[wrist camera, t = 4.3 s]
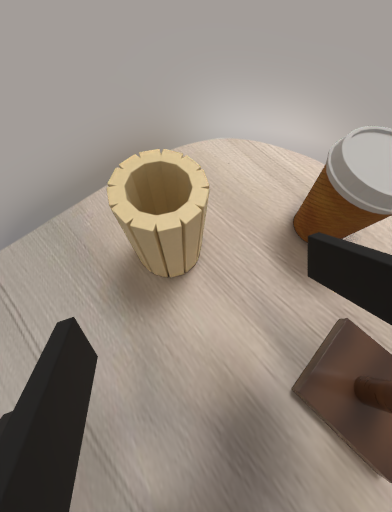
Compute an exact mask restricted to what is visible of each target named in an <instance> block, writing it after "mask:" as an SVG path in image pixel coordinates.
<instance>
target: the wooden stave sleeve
mask: <svg viewBox="0 0 392 512" xmlns="http://www.w3.org/2000/svg"><path fill="white" fill-rule="evenodd" d="M139 155H140V158H139V157H138V156H137V155H136V154H134V155H133V156H131V157H130V158H128V159H127V160H125V161H124V162H122V163H120V164H119V167H120V168H115V170H114V172H113V174H112V176H111V178H110V180H109V181H108V186H109V187H107V194H108V201H109V206H110V208H111V210H112V212H113V214H114V215H115V217H116V219H117V220H118V222H119V224H120V226H121V227H122V229H123V231H124V233H125V234H126V236H127V238H128V240H129V241H130V243H131V245H132V247H133V248H134V250H135V252H136V254H137V255H138V257H139V259H140V261H141V262H142V264H143V265H144V266H145V267H146V268H147V269H148V270H149V271H150V272H151V273H152V272H153V273H154V274H155V275H159V276H163V277H168V274H169V276H170V278H171V277H175V276H179V275H183V274H184V271H185V272H188V271H189V270H190V269H191V268H192V267H193V266H194V265H195V264H196V261H198V258H199V254H200V250H201V244H202V237H203V230H204V224H205V217H206V210H207V203H208V197H209V183H208V181H207V178H206V175H205V173H204V170H203V169H202V170H201V166H200V165H198V164H197V163H196V162H195V161H193V160H192V159H191V158H189V157H188V156H187V155H186V156H184V157H183V153H179V152H175V151H170V150H166V149H163V151H162V153H160V150H159V149H156V150H150V151H144V152H139Z"/></svg>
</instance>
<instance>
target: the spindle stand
mask: <svg viewBox="0 0 392 512" xmlns="http://www.w3.org/2000/svg"><path fill="white" fill-rule="evenodd" d="M292 390H293V391H294V392H295V393H296V394H297V395H298V396H299V397H300V398H301V399H302V400H303V401H304V402H305V403H306V404H307V405H308V406H310V407H311V408H312V409H313V410H314V411H315V412H316V413H317V414H318V415H319V416H320V417H321V418H322V419H323V420H324V421H325V422H326V423H327V424H328V425H329V426H330V427H331V428H332V429H333V430H334V431H335V432H336V433H337V434H338V435H339V436H340V437H341V438H342V439H343V440H344V441H345V442H346V443H347V444H348V445H349V446H350V447H351V448H352V449H353V450H354V451H355V452H356V453H357V454H358V455H359V456H360V457H361V458H362V459H363V460H364V461H365V462H366V463H367V464H368V465H369V466H370V467H371V468H372V469H373V470H374V471H375V472H376V473H377V474H379V475H380V476H382V477H383V478H385V479H386V480H387V481H389V482H390V483H392V355H391V354H390V353H389V352H388V351H387V350H385V349H384V348H383V347H382V346H381V345H379V344H378V343H377V342H376V341H375V340H373V339H372V338H371V337H370V336H368V335H367V334H366V333H365V332H364V331H362V330H361V329H360V328H359V327H358V326H356V325H355V324H354V323H353V322H352V321H350V320H349V319H348V318H345V319H339V320H338V321H337V323H336V324H335V326H334V327H333V329H332V330H331V332H330V333H329V335H328V336H327V338H326V339H325V341H324V342H323V343H322V345H321V346H320V348H319V349H318V351H317V352H316V354H315V355H314V357H313V358H312V360H311V361H310V363H309V364H308V366H307V367H306V369H305V370H304V371H303V373H302V374H301V376H300V377H299V379H298V380H297V382H296V383H295V385H294V386H293V388H292Z"/></svg>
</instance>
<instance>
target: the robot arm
mask: <svg viewBox="0 0 392 512" xmlns="http://www.w3.org/2000/svg"><path fill="white" fill-rule="evenodd" d="M308 277H310V278H312V279H313V280H315V281H317V282H319V283H320V284H322V285H324V286H325V287H327V288H329V289H331V290H332V291H334V292H336V293H337V294H339V295H341V296H342V297H344V298H346V299H348V300H349V301H351V302H353V303H354V304H356V305H358V306H360V307H361V308H363V309H365V310H366V311H368V312H370V313H371V314H373V315H375V316H377V317H378V318H380V319H382V320H383V321H385V322H387V323H389V324H390V325H392V255H390V254H387V253H383V252H380V251H377V250H374V249H371V248H368V247H364V246H361V245H358V244H355V243H352V242H349V241H345V240H342V239H339V238H336V237H333V236H330V235H327V234H323V233H320V232H318V233H315V234H312V235H309V236H308ZM97 358H98V356H97V354H96V353H95V351H94V349H93V348H92V346H91V344H90V343H89V341H88V339H87V338H86V336H85V334H84V333H83V331H82V329H81V328H80V326H79V324H78V323H77V321H76V319H75V318H74V317H72V318H69V319H66V320H63V321H60V322H57V324H56V326H55V328H54V330H53V332H52V334H51V336H50V338H49V340H48V342H47V344H46V346H45V348H44V350H43V352H42V354H41V356H40V358H39V360H38V362H37V364H36V366H35V368H34V370H33V372H32V374H31V376H30V378H29V380H28V382H27V384H26V386H25V388H24V390H23V392H22V394H21V396H20V398H19V400H18V402H17V404H16V406H15V408H14V410H13V411H12V412H9V413H7V414H4V415H3V416H2V417H1V419H0V512H69V509H70V503H71V498H72V493H73V487H74V482H75V476H76V471H77V466H78V460H79V455H80V449H81V444H82V439H83V433H84V428H85V422H86V417H87V412H88V406H89V401H90V395H91V390H92V385H93V379H94V374H95V368H96V363H97Z"/></svg>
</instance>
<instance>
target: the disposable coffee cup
mask: <svg viewBox="0 0 392 512" xmlns="http://www.w3.org/2000/svg"><path fill="white" fill-rule="evenodd" d="M324 167H325V168H323V170H322V172H321V173H320V175H319V177H318V178H317V181H316V182H315V183H314V185H313V187H312V188H311V190H310V192H309V193H308V196H307V197H306V199H305V200H304V202H303V204H302V205H301V207H300V209H299V210H298V212H297V214H296V215H295V217H294V228H295V230H296V232H297V234H298V235H299V236H300V237H301V238H302V239H303V240H304V241H306V242H307V243H308V236H309V235H312V234H315V233H318V232H320V233H323V234H327V235H330V236H333V237H336V238H339V239H342V238H344V237H346V236H348V235H350V234H352V233H355V232H357V231H359V230H361V229H363V228H365V227H368V226H370V225H372V224H374V223H376V222H378V221H381V220H383V219H385V218H387V217H389V216H391V215H392V129H390V128H386V127H380V126H368V127H361V128H358V129H356V130H353V131H352V132H350V133H349V134H348V135H347V136H346V137H344V138H341V139H340V140H338V141H337V142H336V143H335V144H334V145H333V146H332V148H331V149H330V151H329V153H328V158H327V162H326V165H325V166H324Z"/></svg>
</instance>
